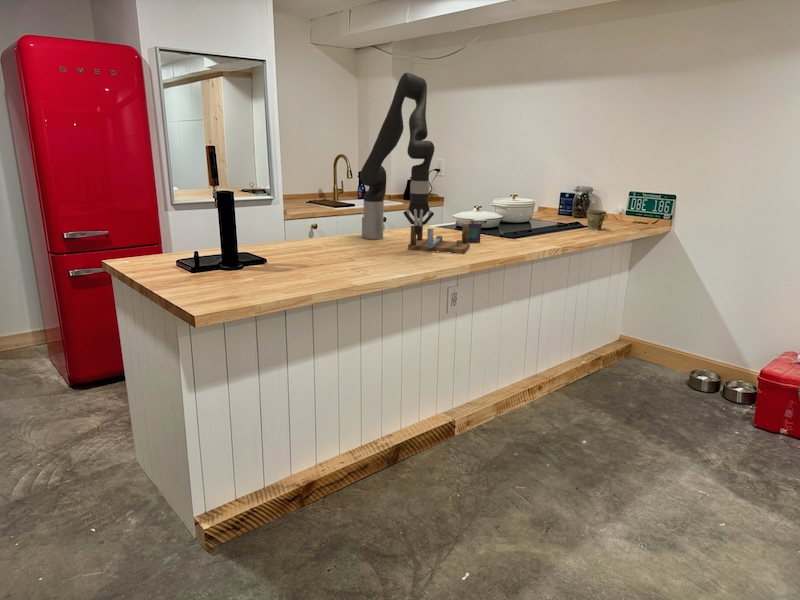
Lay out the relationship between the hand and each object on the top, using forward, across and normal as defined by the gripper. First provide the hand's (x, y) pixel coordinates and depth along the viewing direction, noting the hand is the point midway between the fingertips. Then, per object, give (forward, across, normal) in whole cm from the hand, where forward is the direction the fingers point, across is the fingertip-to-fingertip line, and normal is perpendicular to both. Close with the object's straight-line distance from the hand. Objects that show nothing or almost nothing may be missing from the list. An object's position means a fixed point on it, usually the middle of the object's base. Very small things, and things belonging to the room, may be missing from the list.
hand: (418, 234), depth 231 cm
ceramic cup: (+8, +90, +80) cm, 121 cm away
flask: (+8, +22, +28) cm, 36 cm away
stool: (+8, +9, +11) cm, 16 cm away
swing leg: (+5, +7, +8) cm, 12 cm away
